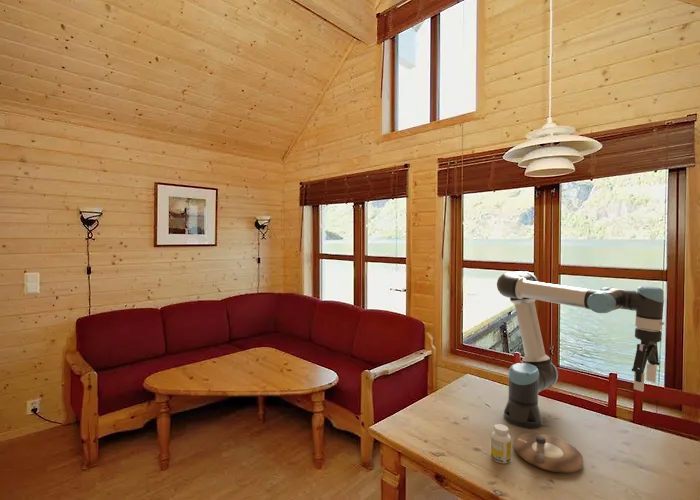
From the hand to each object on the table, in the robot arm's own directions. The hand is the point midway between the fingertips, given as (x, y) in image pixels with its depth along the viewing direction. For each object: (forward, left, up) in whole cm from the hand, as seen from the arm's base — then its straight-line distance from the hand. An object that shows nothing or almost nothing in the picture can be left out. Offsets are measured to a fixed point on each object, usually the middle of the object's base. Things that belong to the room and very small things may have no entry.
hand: (644, 385), depth 133 cm
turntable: (-26, -27, -24) cm, 44 cm away
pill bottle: (-38, -40, -26) cm, 60 cm away
